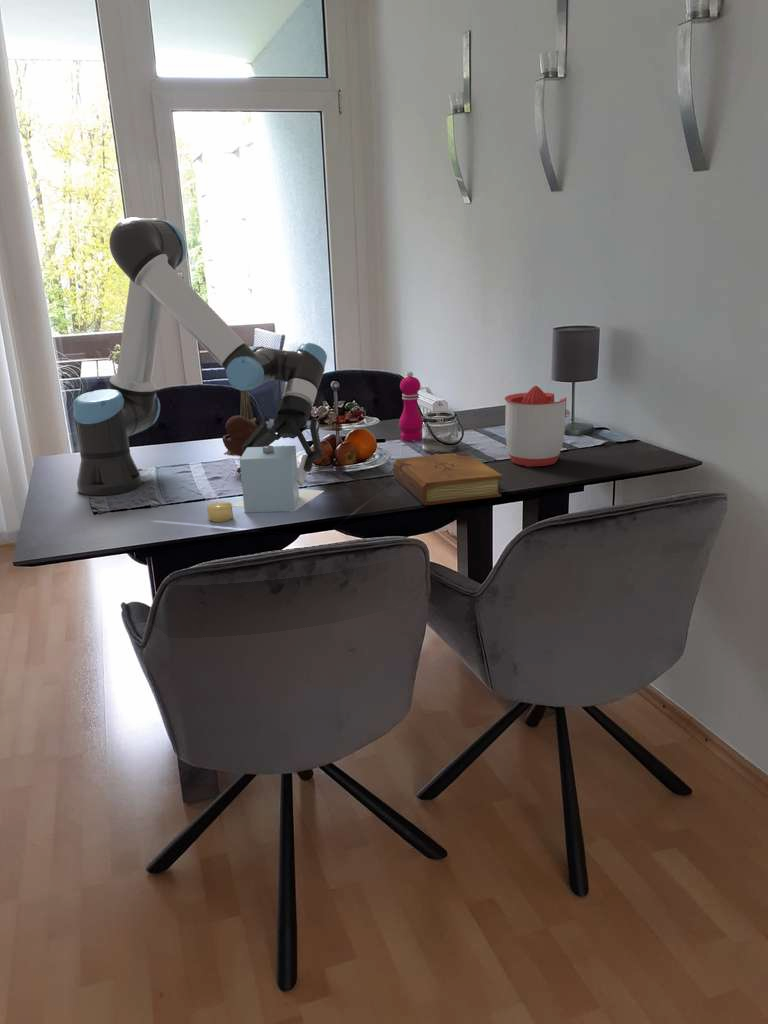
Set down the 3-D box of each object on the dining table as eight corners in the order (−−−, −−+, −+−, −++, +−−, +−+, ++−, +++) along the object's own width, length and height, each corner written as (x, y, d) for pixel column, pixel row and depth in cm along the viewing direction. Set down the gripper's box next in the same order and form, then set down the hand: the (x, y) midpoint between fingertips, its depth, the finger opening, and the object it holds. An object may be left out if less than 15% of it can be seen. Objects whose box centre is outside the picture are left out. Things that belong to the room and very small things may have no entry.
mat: (230, 507, 182) (230, 505, 182) (264, 488, 196) (264, 486, 196) (294, 513, 177) (293, 511, 177) (324, 492, 191) (324, 490, 191)
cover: (244, 512, 177) (239, 454, 173) (251, 497, 187) (246, 442, 183) (294, 510, 177) (290, 452, 173) (299, 496, 187) (295, 440, 183)
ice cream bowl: (259, 477, 206) (255, 419, 201) (218, 476, 208) (213, 418, 204) (273, 466, 216) (269, 410, 211) (234, 465, 218) (229, 410, 213)
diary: (394, 481, 201) (393, 459, 199) (464, 474, 205) (464, 451, 203) (423, 507, 179) (422, 482, 178) (501, 498, 184) (501, 473, 182)
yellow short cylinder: (204, 521, 174) (202, 505, 173) (225, 516, 177) (224, 500, 176) (216, 527, 170) (214, 511, 169) (237, 521, 173) (236, 505, 172)
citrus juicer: (582, 464, 208) (585, 386, 201) (522, 472, 202) (523, 393, 196) (550, 451, 222) (552, 378, 215) (493, 458, 216) (493, 383, 210)
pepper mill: (400, 436, 245) (399, 369, 239) (424, 436, 244) (423, 369, 238) (397, 441, 238) (396, 373, 232) (422, 441, 237) (421, 373, 231)
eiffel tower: (253, 447, 238) (246, 361, 231) (276, 452, 231) (269, 364, 223) (223, 454, 231) (215, 366, 224) (245, 459, 224) (237, 369, 216)
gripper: (350, 413, 191) (327, 492, 182) (257, 410, 199) (231, 485, 190) (340, 394, 184) (316, 476, 175) (244, 392, 193) (217, 469, 184)
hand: (272, 481), depth 183 cm, fingers closed on cover, 13 cm apart
